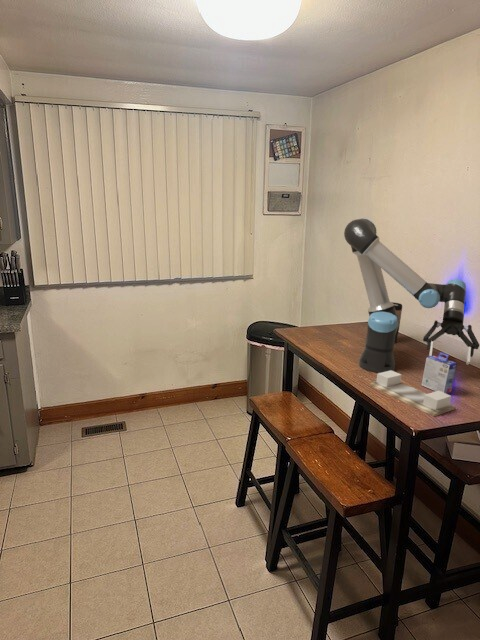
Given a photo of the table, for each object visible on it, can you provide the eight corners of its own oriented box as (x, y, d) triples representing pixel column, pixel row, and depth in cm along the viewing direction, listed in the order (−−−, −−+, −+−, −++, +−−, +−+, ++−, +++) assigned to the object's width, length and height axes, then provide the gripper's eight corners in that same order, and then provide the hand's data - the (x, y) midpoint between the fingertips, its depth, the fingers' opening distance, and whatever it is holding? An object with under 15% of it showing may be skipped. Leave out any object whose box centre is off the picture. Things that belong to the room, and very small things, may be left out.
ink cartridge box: (452, 392, 169) (459, 357, 165) (444, 395, 166) (451, 359, 162) (428, 383, 176) (434, 349, 173) (420, 385, 173) (426, 351, 169)
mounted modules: (376, 381, 171) (377, 373, 170) (389, 378, 175) (391, 370, 174) (435, 409, 150) (437, 400, 149) (449, 405, 154) (451, 395, 153)
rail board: (370, 385, 171) (370, 381, 170) (390, 380, 177) (391, 376, 177) (433, 416, 148) (434, 412, 148) (454, 409, 155) (455, 405, 154)
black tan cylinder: (378, 339, 230) (383, 302, 224) (389, 338, 233) (394, 301, 228) (389, 344, 223) (395, 306, 218) (400, 342, 227) (406, 305, 221)
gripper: (485, 322, 179) (482, 369, 170) (420, 314, 188) (414, 358, 179) (489, 313, 173) (486, 361, 164) (421, 305, 182) (415, 350, 173)
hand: (448, 360), depth 171 cm, fingers open, 13 cm apart
